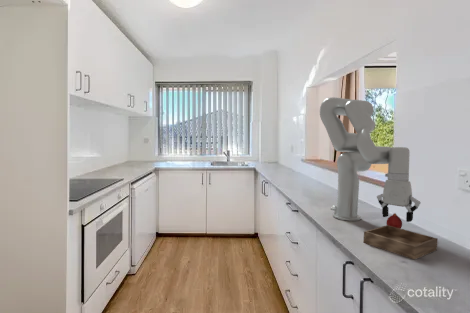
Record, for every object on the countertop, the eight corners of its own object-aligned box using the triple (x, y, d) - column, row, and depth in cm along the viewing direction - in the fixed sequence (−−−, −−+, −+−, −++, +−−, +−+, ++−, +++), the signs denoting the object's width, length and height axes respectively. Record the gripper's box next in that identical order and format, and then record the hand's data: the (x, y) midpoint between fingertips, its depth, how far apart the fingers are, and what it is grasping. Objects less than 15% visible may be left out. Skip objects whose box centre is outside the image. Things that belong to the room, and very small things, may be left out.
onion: (386, 229, 131) (387, 210, 131) (401, 231, 128) (403, 212, 128) (385, 232, 126) (386, 213, 126) (401, 235, 123) (402, 215, 123)
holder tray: (363, 242, 114) (364, 231, 113) (386, 235, 123) (387, 225, 122) (414, 259, 99) (415, 246, 98) (436, 250, 108) (437, 238, 108)
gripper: (373, 176, 131) (372, 216, 131) (416, 180, 116) (414, 224, 117) (382, 175, 135) (381, 213, 135) (425, 178, 121) (423, 222, 121)
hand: (396, 219), depth 126 cm, fingers open, 9 cm apart
